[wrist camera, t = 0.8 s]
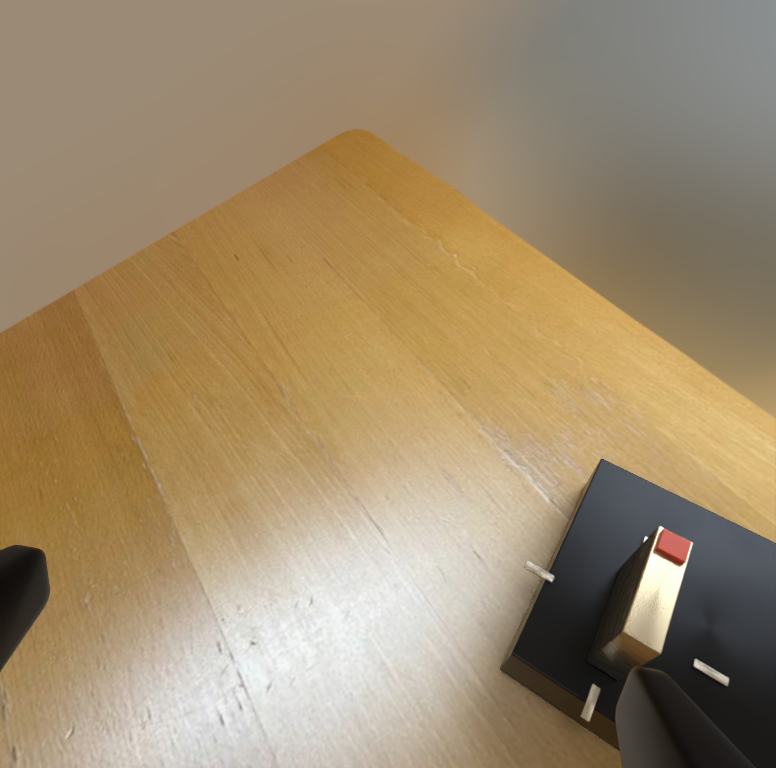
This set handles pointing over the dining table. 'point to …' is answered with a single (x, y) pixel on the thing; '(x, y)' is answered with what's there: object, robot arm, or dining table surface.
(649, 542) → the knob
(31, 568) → the robot arm
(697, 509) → the console
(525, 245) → the dining table surface
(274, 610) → the dining table surface
